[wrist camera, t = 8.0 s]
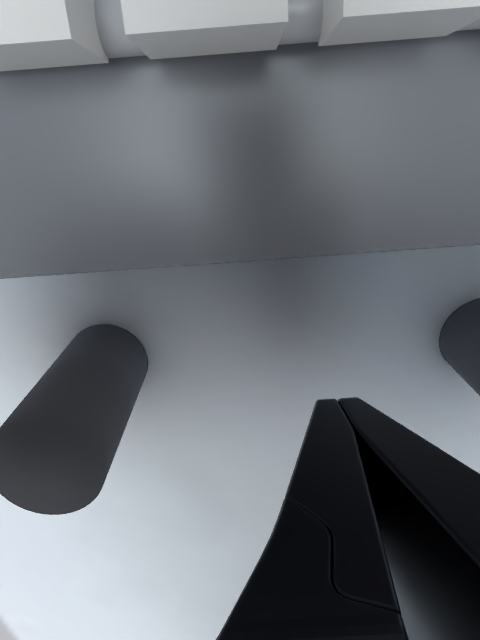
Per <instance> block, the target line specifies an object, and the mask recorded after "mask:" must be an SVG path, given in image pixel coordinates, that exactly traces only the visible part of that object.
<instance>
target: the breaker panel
mask: <svg viewBox="0 0 480 640" xmlns="http://www.w3.org/2000/svg"><path fill="white" fill-rule="evenodd" d="M108 60H109V63H101V64H89V65H76V66H63V67H51V68H38V69H26V70H13V71H0V279H3V278H17V277H31V276H45V275H59V274H73V273H87V272H101V271H115V270H129V269H143V268H157V267H172V266H186V265H200V264H214V263H228V262H242V261H256V260H270V259H284V258H298V257H312V256H326V255H340V254H354V253H368V252H383V251H397V250H411V249H425V248H439V247H453V246H467V245H480V29H473V30H461V31H455V32H453V33H451V34H449V35H447V36H442V37H429V38H417V39H404V40H391V41H379V42H366V43H354V44H341V45H328V46H318V42H310V43H297V44H284V45H278V47H277V49H276V50H265V51H253V52H240V53H227V54H215V55H202V56H190V57H177V58H164V59H152V60H150V59H149V58H148V57H147V56H133V57H121V58H108Z"/></svg>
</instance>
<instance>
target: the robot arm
mask: <svg viewBox="0 0 480 640" xmlns="http://www.w3.org/2000/svg"><path fill="white" fill-rule="evenodd" d="M216 640H480V474H479V473H478V472H476V471H474V470H473V469H471V468H470V467H468V466H466V465H465V464H463V463H462V462H460V461H458V460H457V459H455V458H454V457H452V456H450V455H449V454H447V453H446V452H444V451H442V450H441V449H439V448H438V447H436V446H435V445H433V444H431V443H430V442H428V441H427V440H425V439H423V438H422V437H420V436H419V435H417V434H415V433H414V432H412V431H411V430H409V429H407V428H406V427H404V426H403V425H401V424H399V423H398V422H396V421H395V420H393V419H391V418H390V417H388V416H387V415H385V414H384V413H382V412H380V411H379V410H377V409H376V408H374V407H372V406H371V405H369V404H368V403H366V402H364V401H363V400H361V399H359V398H357V397H353V398H341V399H339V400H338V401H337V400H336V399H322V400H317V401H316V403H315V406H314V409H313V412H312V415H311V418H310V422H309V425H308V428H307V431H306V434H305V437H304V440H303V443H302V446H301V449H300V452H299V455H298V458H297V462H296V465H295V468H294V471H293V474H292V477H291V480H290V483H289V486H288V489H287V492H286V495H285V499H284V501H283V504H282V507H281V510H280V513H279V516H278V518H277V521H276V523H275V526H274V529H273V531H272V534H271V536H270V538H269V541H268V543H267V545H266V547H265V549H264V551H263V553H262V555H261V557H260V559H259V561H258V563H257V565H256V567H255V569H254V571H253V572H252V574H251V576H250V578H249V580H248V582H247V584H246V586H245V587H244V589H243V591H242V593H241V595H240V597H239V599H238V601H237V602H236V604H235V606H234V608H233V610H232V612H231V614H230V616H229V617H228V619H227V621H226V623H225V625H224V627H223V628H222V630H221V632H220V634H219V635H218V637H217V638H216Z"/></svg>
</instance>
